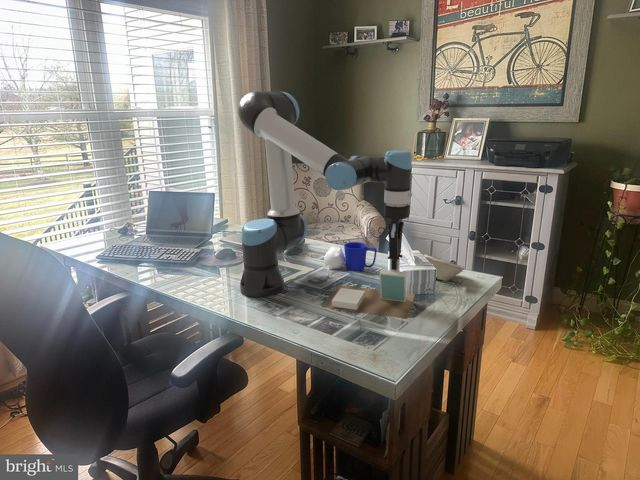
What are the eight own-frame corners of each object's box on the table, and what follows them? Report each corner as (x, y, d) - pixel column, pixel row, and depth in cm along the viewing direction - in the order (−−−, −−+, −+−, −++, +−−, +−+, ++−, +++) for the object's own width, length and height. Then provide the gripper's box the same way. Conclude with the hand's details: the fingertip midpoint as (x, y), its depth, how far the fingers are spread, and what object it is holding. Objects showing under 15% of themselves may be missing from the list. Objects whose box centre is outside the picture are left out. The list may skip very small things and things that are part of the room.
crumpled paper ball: (332, 239, 176) (331, 247, 164) (355, 253, 177) (355, 262, 165) (321, 257, 178) (318, 266, 166) (343, 270, 179) (342, 281, 167)
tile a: (341, 294, 146) (331, 306, 137) (341, 287, 145) (331, 300, 136) (364, 297, 143) (357, 310, 134) (365, 290, 142) (357, 303, 133)
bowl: (472, 282, 156) (474, 255, 153) (443, 291, 149) (445, 263, 146) (440, 269, 169) (442, 244, 166) (412, 277, 162) (413, 250, 159)
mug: (375, 275, 164) (375, 249, 161) (342, 273, 166) (342, 248, 163) (377, 267, 171) (377, 242, 168) (345, 266, 174) (345, 241, 171)
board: (321, 310, 137) (321, 306, 137) (338, 287, 153) (338, 284, 153) (406, 322, 129) (406, 318, 128) (415, 297, 145) (415, 293, 145)
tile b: (380, 299, 141) (379, 273, 136) (381, 294, 143) (380, 269, 138) (405, 302, 139) (405, 276, 134) (406, 298, 141) (406, 272, 136)
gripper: (406, 209, 125) (403, 287, 132) (412, 200, 137) (409, 271, 144) (380, 208, 127) (378, 284, 134) (388, 198, 139) (386, 269, 146)
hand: (394, 277), depth 139 cm, fingers closed
